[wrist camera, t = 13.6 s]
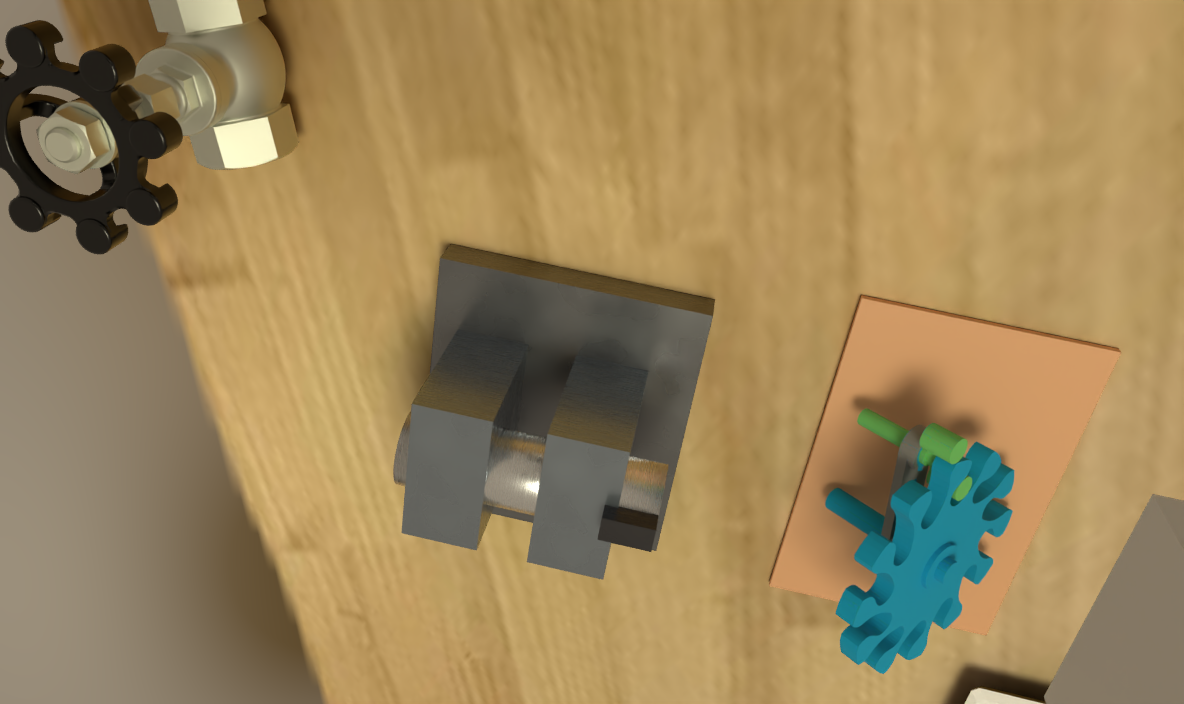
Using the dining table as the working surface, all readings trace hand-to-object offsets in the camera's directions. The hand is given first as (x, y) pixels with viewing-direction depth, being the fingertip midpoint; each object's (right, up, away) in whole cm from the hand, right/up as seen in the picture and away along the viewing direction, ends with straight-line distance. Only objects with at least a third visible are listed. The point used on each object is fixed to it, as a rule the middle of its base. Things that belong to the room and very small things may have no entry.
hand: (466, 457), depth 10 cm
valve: (-12, +13, +29) cm, 33 cm away
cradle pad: (+16, -4, +32) cm, 36 cm away
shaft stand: (0, -1, +33) cm, 33 cm away
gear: (+18, -4, +33) cm, 38 cm away
